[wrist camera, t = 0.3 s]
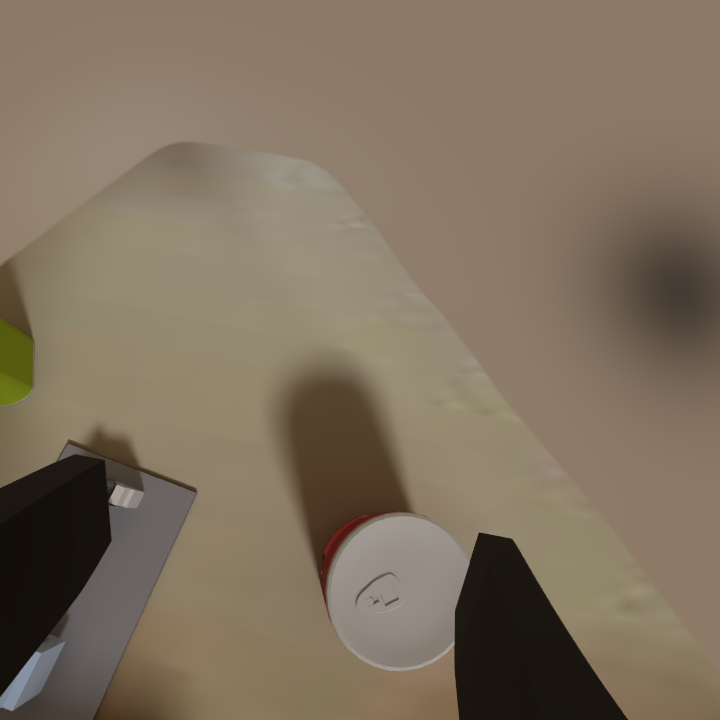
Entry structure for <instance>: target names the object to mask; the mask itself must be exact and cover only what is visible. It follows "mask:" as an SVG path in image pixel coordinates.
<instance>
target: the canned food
mask: <svg viewBox="0 0 720 720" xmlns="http://www.w3.org/2000/svg"><path fill="white" fill-rule="evenodd" d="M469 563H470V562H469V559H468V556H467V554H466V553H465V551H464V549H463V547H462V546H461V544H460V542H459V541H458V540H457V539H456V538H455V537H454V535H453V534H452V533H451V532H450V531H448V530H447V529H446V528H445V527H443V526H442V525H441V524H439V523H438V522H436V521H434V520H432V519H430V518H428V517H426V516H423V515H419V514H415V513H410V512H386V513H376V514H369V515H363V516H360V517H357V518H355V519H353V520H351V521H349V522H348V523H346V524H345V525H343V526H342V527H341V528H340V529H339V530H338V531H337V532H336V533H335V534H334V535H333V537H332V538H331V539H330V541H329V542H328V544H327V546H326V548H325V550H324V553H323V556H322V560H321V566H320V583H321V588H322V592H323V596H324V601H325V605H326V608H327V612H328V616H329V619H330V621H331V624H332V626H333V628H334V630H335V632H336V634H337V636H338V637H339V638H340V640H341V641H342V642H343V643H344V645H345V646H346V647H347V648H348V649H349V650H350V651H351V652H352V653H354V654H355V655H356V656H357V657H358V658H360V659H361V660H363V661H365V662H366V663H368V664H370V665H372V666H374V667H378V668H381V669H385V670H390V671H407V670H413V669H418V668H421V667H423V666H426V665H428V664H431V663H433V662H434V661H436V660H437V659H439V658H440V657H442V656H443V655H445V654H446V653H447V652H448V651H449V650H450V649H451V648H452V647H453V646H454V641H455V609H456V605H457V602H458V599H459V596H460V592H461V589H462V586H463V583H464V579H465V576H466V573H467V570H468V566H469Z"/></svg>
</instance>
